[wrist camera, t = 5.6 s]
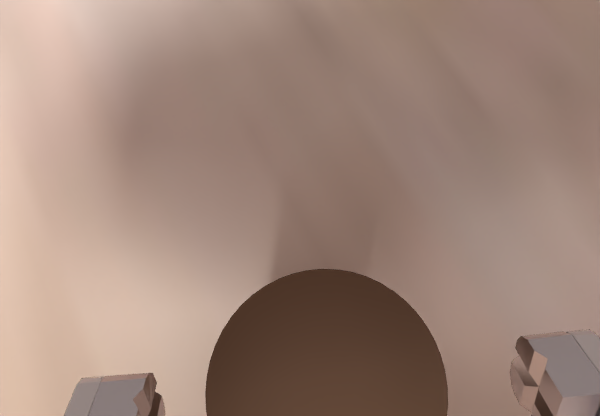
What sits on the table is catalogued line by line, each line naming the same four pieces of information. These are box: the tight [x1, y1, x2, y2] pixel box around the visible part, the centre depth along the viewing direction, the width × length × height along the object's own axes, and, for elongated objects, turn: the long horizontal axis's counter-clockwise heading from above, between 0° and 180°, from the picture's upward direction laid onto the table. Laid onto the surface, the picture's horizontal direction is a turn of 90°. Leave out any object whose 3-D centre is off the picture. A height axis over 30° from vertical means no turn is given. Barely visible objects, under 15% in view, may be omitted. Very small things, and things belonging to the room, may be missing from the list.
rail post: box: [206, 269, 448, 416], centre depth 13 cm, size 4×4×11 cm
